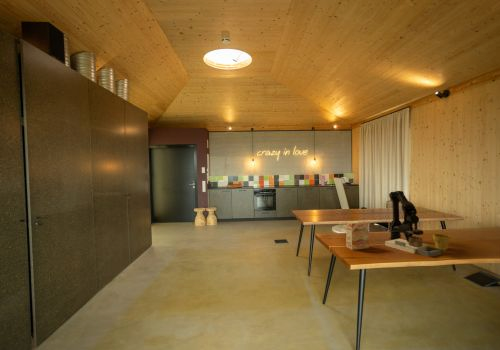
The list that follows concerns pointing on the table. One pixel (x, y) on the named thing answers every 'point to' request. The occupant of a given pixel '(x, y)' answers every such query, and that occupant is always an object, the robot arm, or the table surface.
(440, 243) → the plant pot
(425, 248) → the tunnel deck
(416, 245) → the walnut block
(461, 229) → the table surface
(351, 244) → the coffeecake box
